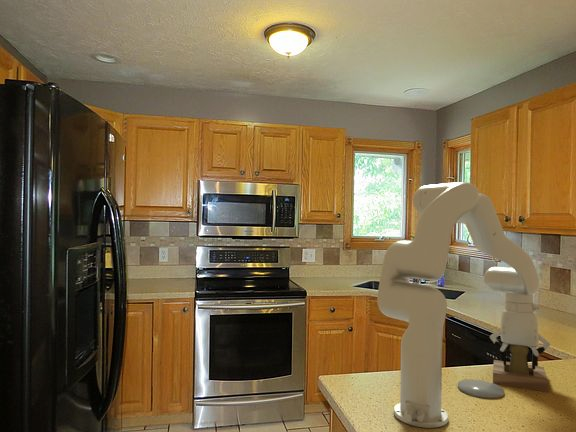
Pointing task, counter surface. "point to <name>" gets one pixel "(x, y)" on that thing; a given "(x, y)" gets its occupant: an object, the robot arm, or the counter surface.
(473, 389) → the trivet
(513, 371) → the cork
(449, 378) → the counter surface
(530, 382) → the frame
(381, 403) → the counter surface
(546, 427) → the counter surface
